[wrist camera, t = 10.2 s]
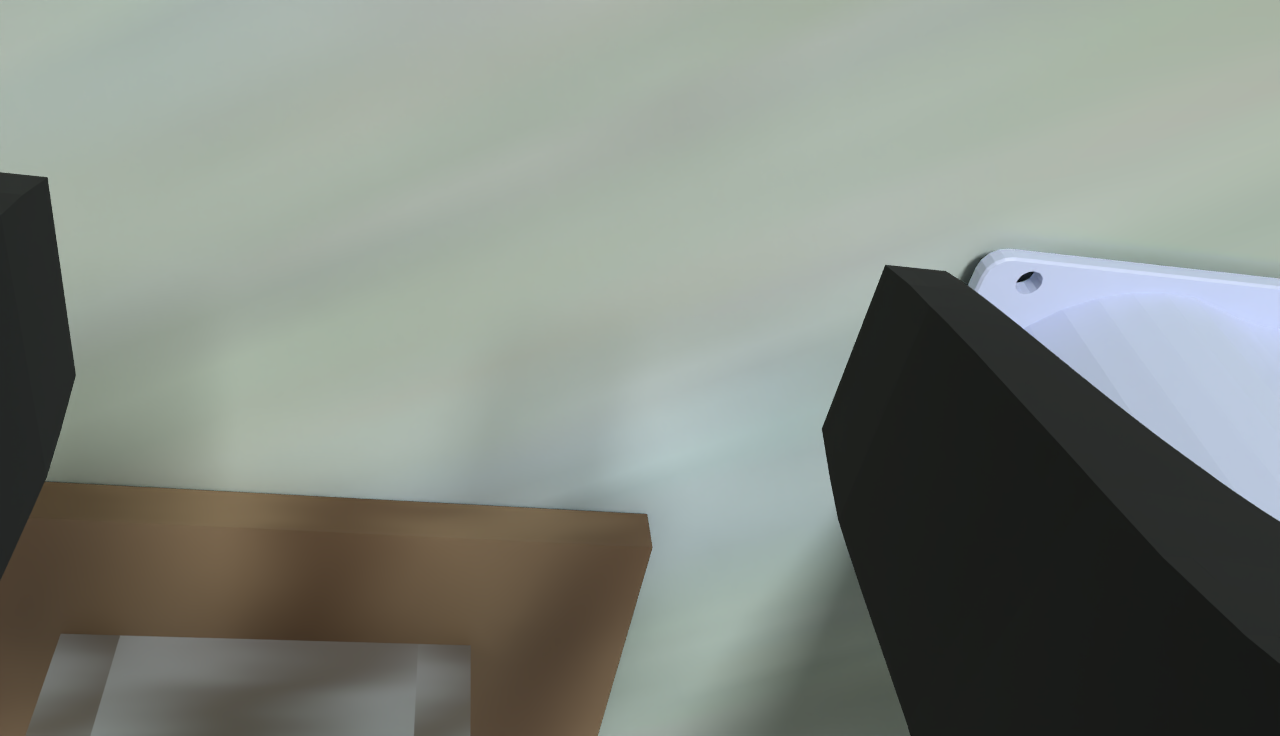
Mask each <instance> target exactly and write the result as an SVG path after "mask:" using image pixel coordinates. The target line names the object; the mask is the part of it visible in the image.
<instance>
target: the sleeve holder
mask: <svg viewBox="0 0 1280 736" xmlns="http://www.w3.org/2000/svg"><path fill="white" fill-rule="evenodd" d="M651 551H652V542H651V535H650V529H649V523H648V517H647V514H634V513H615V512H597V511H578V510H559V509H541V508H522V507H504V506H485V505H467V504H448V503H430V502H411V501H393V500H374V499H355V498H337V497H318V496H300V495H281V494H263V493H244V492H226V491H207V490H189V489H170V488H151V487H133V486H114V485H96V484H77V483H59V482H44V484H43V487H42V489H41V491H40V494H39V496H38V498H37V501H36V503H35V505H34V507H33V510H32V512H31V514H30V516H29V518H28V521H27V523H26V525H25V527H24V530H23V532H22V534H21V536H20V538H19V541H18V543H17V545H16V547H15V550H14V552H13V554H12V556H11V558H10V561H9V563H8V565H7V567H6V569H5V572H4V574H3V576H2V578H1V580H0V736H598V733H599V729H600V726H601V723H602V719H603V716H604V712H605V709H606V705H607V702H608V699H609V695H610V692H611V688H612V685H613V681H614V678H615V674H616V671H617V668H618V664H619V661H620V657H621V654H622V650H623V647H624V643H625V640H626V637H627V633H628V630H629V626H630V623H631V619H632V616H633V613H634V609H635V606H636V602H637V599H638V595H639V592H640V588H641V585H642V582H643V578H644V575H645V571H646V568H647V564H648V561H649V558H650V554H651Z"/></svg>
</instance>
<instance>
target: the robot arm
mask: <svg viewBox="0 0 1280 736" xmlns="http://www.w3.org/2000/svg"><path fill="white" fill-rule="evenodd" d="M1033 271H1034V273H1033V274H1032V276H1031V277H1030V278H1029V279H1027V280H1025V281H1023V282H1017V280H1018V279H1019V278H1020V277H1021V276H1022V275H1024V274H1025V273H1027V272H1033ZM75 376H76V374H75V367H74V360H73V353H72V346H71V339H70V332H69V325H68V318H67V311H66V304H65V297H64V290H63V283H62V276H61V269H60V262H59V255H58V248H57V241H56V234H55V227H54V220H53V213H52V206H51V199H50V192H49V185H48V178H47V177H39V176H29V175H20V174H10V173H1V172H0V580H1V578H2V576H3V574H4V572H5V569H6V567H7V565H8V563H9V561H10V558H11V556H12V554H13V552H14V550H15V547H16V545H17V543H18V541H19V538H20V536H21V534H22V532H23V530H24V527H25V525H26V523H27V521H28V518H29V516H30V514H31V512H32V510H33V507H34V505H35V503H36V501H37V498H38V496H39V494H40V491H41V489H42V487H43V484H44V482H45V480H46V478H47V474H48V471H49V468H50V465H51V461H52V458H53V455H54V451H55V448H56V445H57V441H58V438H59V435H60V431H61V428H62V424H63V420H64V417H65V413H66V409H67V406H68V402H69V398H70V395H71V391H72V387H73V384H74V380H75ZM822 432H823V438H824V444H825V451H826V457H827V463H828V469H829V475H830V481H831V486H832V491H833V496H834V501H835V506H836V511H837V516H838V520H839V523H840V527H841V530H842V533H843V536H844V539H845V543H846V546H847V549H848V552H849V555H850V558H851V561H852V564H853V567H854V570H855V573H856V576H857V579H858V582H859V585H860V588H861V591H862V594H863V597H864V600H865V603H866V605H867V608H868V611H869V614H870V617H871V620H872V623H873V626H874V629H875V632H876V635H877V637H878V640H879V643H880V646H881V649H882V652H883V655H884V658H885V661H886V664H887V667H888V670H889V672H890V675H891V678H892V681H893V684H894V687H895V690H896V693H897V696H898V699H899V702H900V705H901V707H902V710H903V713H904V716H905V719H906V722H907V725H908V729H909V732H910V735H911V736H1280V279H1279V278H1270V277H1261V276H1252V275H1243V274H1234V273H1225V272H1216V271H1207V270H1198V269H1189V268H1180V267H1171V266H1162V265H1153V264H1144V263H1135V262H1126V261H1117V260H1107V259H1098V258H1089V257H1080V256H1071V255H1062V254H1053V253H1044V252H1035V251H1026V250H1017V249H999V250H996V251H994V252H991V253H989V254H988V255H986V256H985V257H984V258H983V259H981V261H980V262H979V263H978V265H977V266H976V268H975V270H974V272H973V275H972V277H971V279H970V281H969V284H968V285H966V284H965V283H963V282H962V281H960V280H959V279H957V278H956V277H954V276H953V275H951V274H950V273H948V272H946V271H939V270H929V269H919V268H910V267H900V266H891V265H885V267H884V270H883V272H882V275H881V278H880V280H879V283H878V285H877V288H876V290H875V293H874V296H873V298H872V301H871V303H870V306H869V309H868V311H867V314H866V316H865V319H864V321H863V324H862V327H861V329H860V332H859V334H858V337H857V339H856V342H855V345H854V347H853V350H852V352H851V355H850V358H849V360H848V363H847V365H846V368H845V370H844V373H843V376H842V378H841V381H840V383H839V386H838V389H837V391H836V394H835V396H834V399H833V401H832V404H831V407H830V409H829V412H828V414H827V417H826V420H825V422H824V425H823V427H822Z"/></svg>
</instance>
